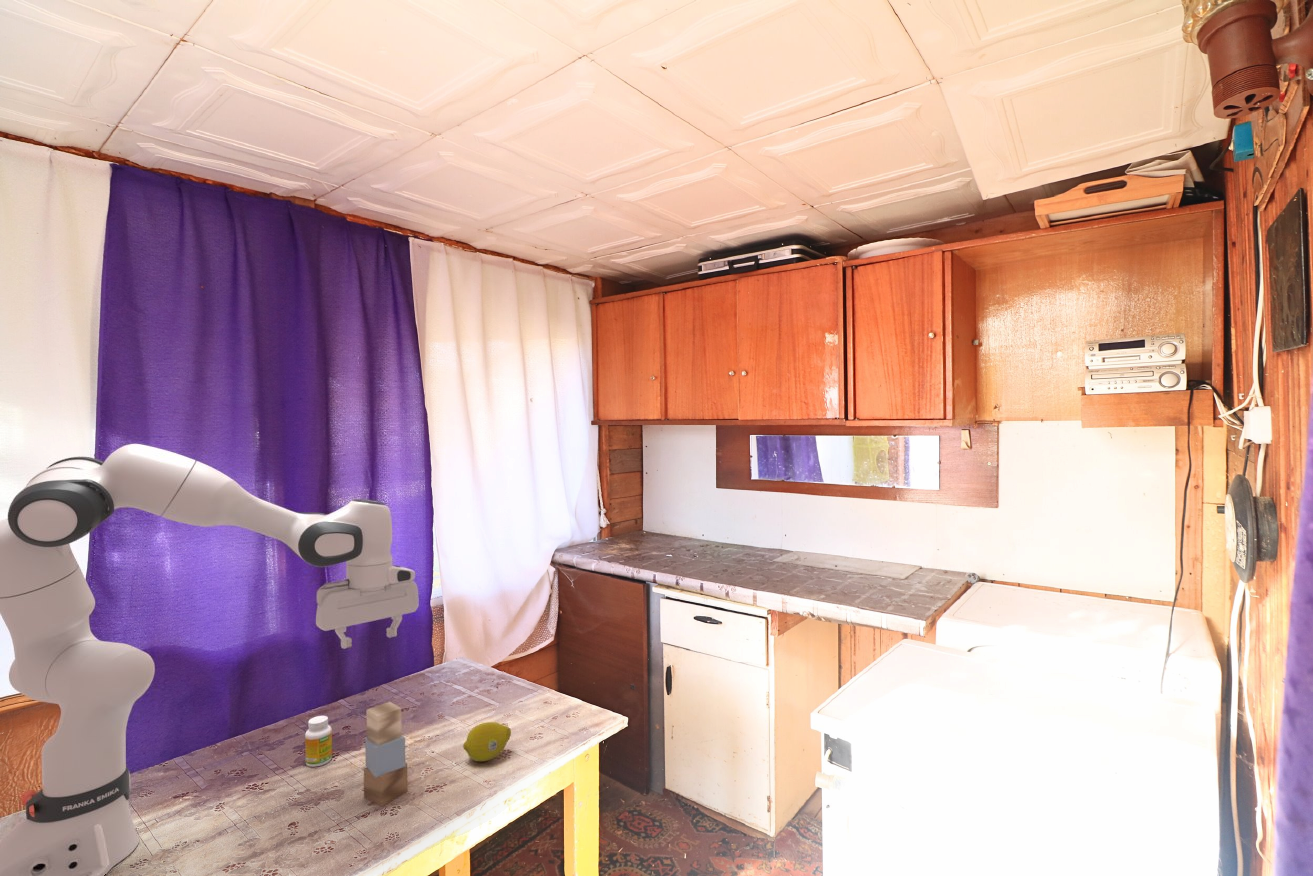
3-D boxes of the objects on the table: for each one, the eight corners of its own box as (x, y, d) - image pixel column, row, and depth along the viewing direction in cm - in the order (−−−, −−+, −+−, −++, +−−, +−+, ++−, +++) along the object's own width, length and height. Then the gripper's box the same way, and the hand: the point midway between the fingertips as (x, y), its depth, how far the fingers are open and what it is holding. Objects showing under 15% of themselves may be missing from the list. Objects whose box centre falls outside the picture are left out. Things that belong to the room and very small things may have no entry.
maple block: (377, 746, 126) (377, 716, 126) (366, 738, 129) (366, 709, 129) (401, 736, 130) (401, 708, 130) (390, 729, 133) (389, 701, 133)
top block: (375, 777, 125) (375, 748, 125) (365, 766, 130) (365, 737, 130) (405, 766, 129) (405, 737, 129) (394, 755, 134) (394, 728, 134)
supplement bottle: (320, 768, 140) (319, 726, 140) (300, 766, 141) (299, 724, 141) (337, 756, 145) (336, 715, 145) (317, 754, 146) (316, 713, 146)
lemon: (464, 771, 138) (464, 736, 138) (462, 754, 145) (461, 721, 145) (513, 761, 142) (513, 727, 142) (509, 745, 149) (508, 712, 149)
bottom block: (382, 806, 126) (381, 777, 125) (364, 797, 129) (363, 769, 129) (407, 791, 131) (407, 763, 131) (389, 783, 134) (389, 755, 134)
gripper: (322, 587, 120) (322, 658, 120) (422, 570, 136) (422, 633, 136) (310, 582, 125) (310, 651, 125) (408, 566, 140) (408, 628, 140)
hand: (369, 642), depth 130 cm, fingers open, 8 cm apart
